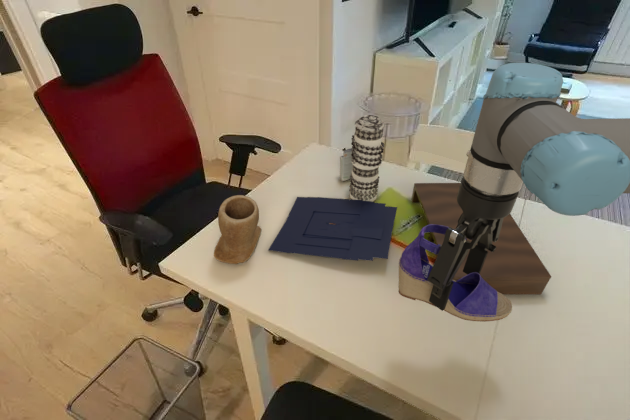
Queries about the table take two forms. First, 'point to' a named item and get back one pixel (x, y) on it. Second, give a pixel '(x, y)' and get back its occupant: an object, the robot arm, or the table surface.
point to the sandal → (466, 294)
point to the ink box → (346, 165)
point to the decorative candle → (366, 158)
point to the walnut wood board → (511, 247)
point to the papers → (337, 229)
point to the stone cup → (237, 229)
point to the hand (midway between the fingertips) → (454, 289)
